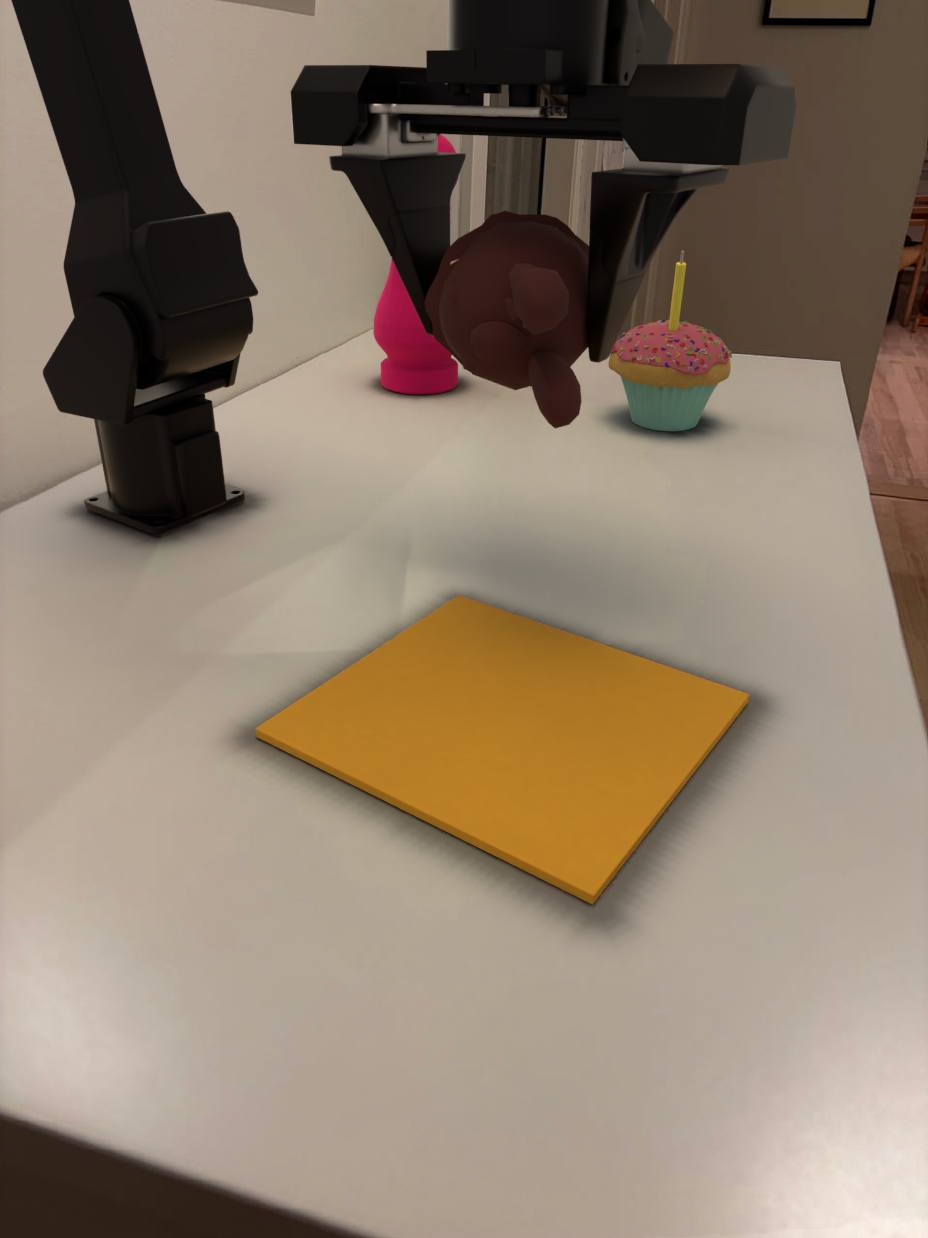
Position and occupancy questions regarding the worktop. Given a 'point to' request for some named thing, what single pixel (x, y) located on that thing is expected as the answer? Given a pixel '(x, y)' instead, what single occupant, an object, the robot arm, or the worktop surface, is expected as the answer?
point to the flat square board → (514, 738)
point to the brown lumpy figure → (516, 307)
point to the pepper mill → (411, 338)
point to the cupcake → (670, 367)
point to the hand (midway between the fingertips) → (514, 346)
